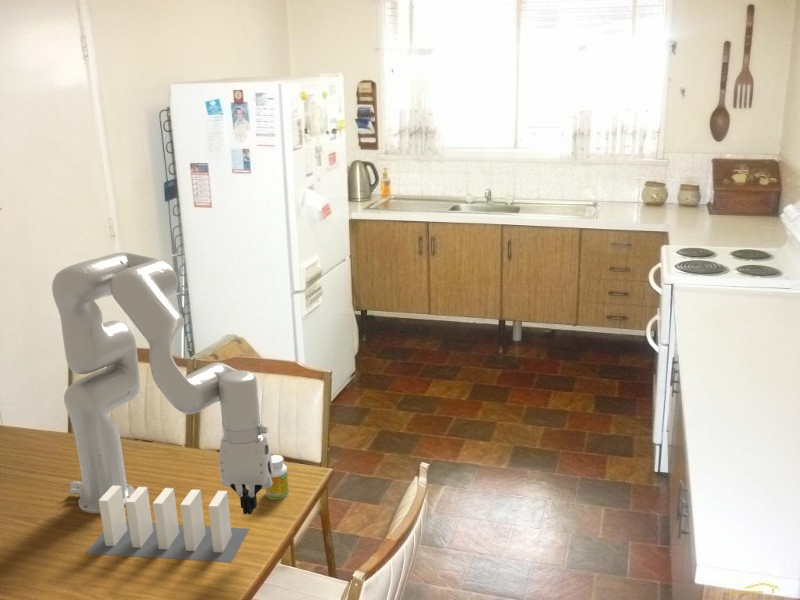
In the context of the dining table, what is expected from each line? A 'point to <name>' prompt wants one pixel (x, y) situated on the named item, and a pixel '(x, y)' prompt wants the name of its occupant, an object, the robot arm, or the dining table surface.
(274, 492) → the supplement bottle
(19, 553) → the dining table surface
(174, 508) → the domino
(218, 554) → the mat
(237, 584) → the dining table surface
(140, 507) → the domino
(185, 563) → the dining table surface
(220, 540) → the domino
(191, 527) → the domino
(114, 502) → the domino
